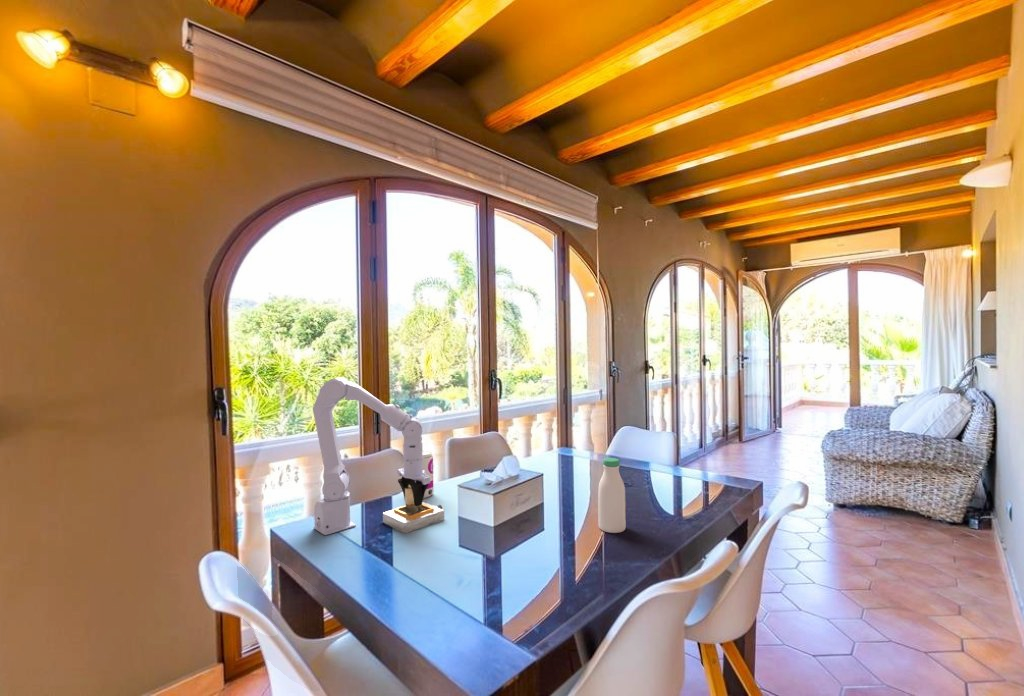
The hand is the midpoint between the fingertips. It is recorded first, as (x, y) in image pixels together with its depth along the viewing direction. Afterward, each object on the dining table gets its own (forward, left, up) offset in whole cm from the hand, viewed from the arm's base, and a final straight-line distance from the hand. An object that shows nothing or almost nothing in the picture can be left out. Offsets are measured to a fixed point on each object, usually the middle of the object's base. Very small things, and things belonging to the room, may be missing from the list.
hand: (413, 503), depth 141 cm
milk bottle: (+36, -47, -6) cm, 59 cm away
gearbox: (+2, 0, -5) cm, 6 cm away
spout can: (0, 0, -2) cm, 2 cm away
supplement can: (+16, +19, -6) cm, 25 cm away
